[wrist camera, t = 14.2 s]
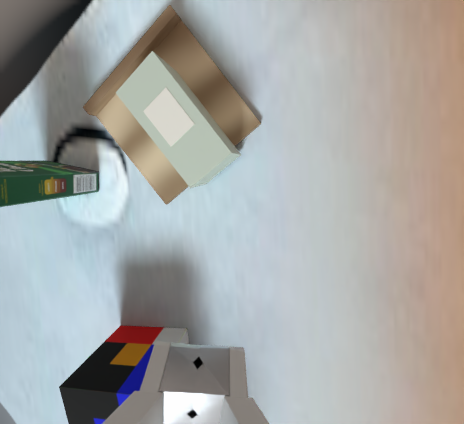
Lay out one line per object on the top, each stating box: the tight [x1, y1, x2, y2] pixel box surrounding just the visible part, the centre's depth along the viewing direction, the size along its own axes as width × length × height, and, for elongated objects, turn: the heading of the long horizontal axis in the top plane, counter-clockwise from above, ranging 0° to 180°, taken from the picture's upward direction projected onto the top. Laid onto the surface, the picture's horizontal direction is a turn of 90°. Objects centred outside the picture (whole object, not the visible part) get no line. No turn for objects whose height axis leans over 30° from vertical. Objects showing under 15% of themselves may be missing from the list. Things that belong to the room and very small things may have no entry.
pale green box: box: [116, 51, 241, 188], centre depth 24 cm, size 5×5×11 cm
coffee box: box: [0, 161, 99, 207], centre depth 25 cm, size 8×3×13 cm, turn 80°
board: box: [83, 5, 261, 204], centre depth 27 cm, size 14×14×2 cm
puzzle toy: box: [59, 326, 189, 424], centre depth 30 cm, size 10×10×10 cm
